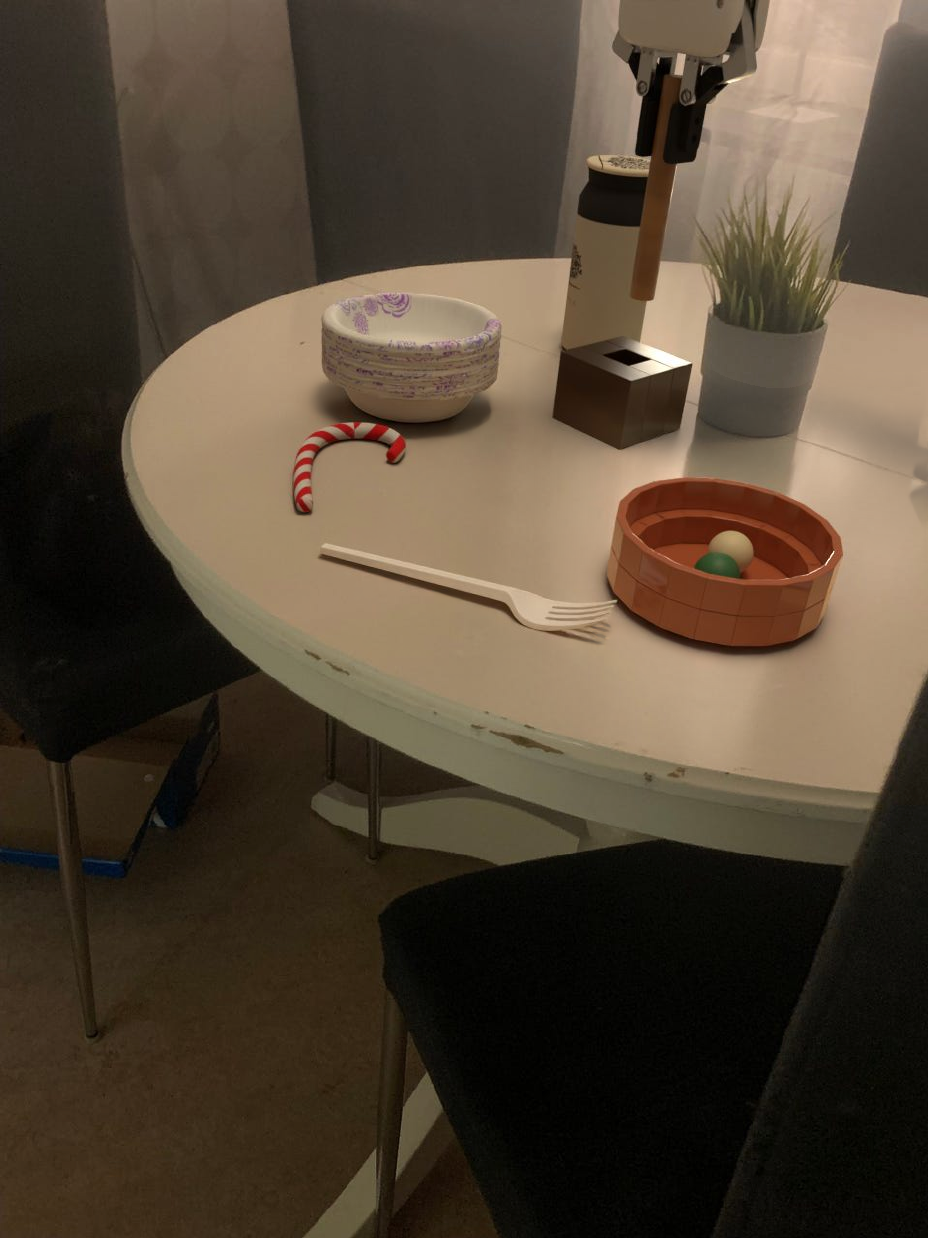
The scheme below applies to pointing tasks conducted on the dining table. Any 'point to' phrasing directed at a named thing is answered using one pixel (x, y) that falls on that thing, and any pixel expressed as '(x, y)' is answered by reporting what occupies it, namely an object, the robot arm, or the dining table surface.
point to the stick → (655, 200)
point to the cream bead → (733, 547)
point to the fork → (488, 592)
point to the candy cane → (330, 435)
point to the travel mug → (606, 253)
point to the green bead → (718, 565)
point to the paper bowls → (410, 353)
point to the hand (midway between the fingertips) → (665, 156)
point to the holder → (621, 391)
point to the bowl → (711, 604)
